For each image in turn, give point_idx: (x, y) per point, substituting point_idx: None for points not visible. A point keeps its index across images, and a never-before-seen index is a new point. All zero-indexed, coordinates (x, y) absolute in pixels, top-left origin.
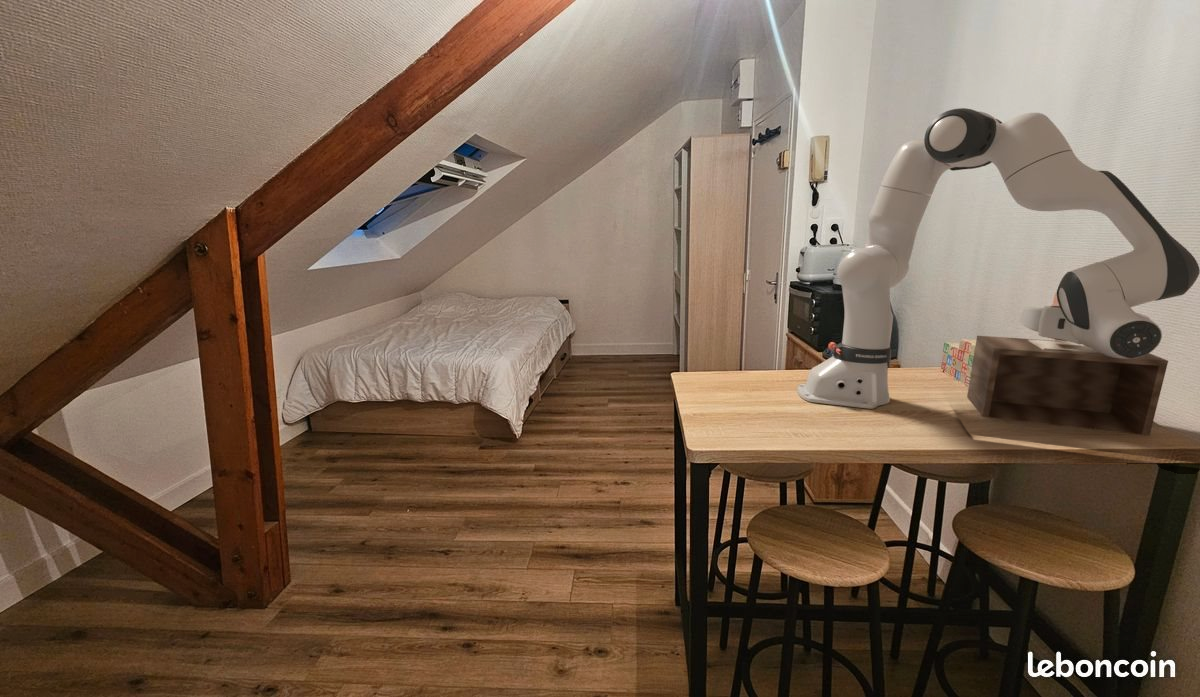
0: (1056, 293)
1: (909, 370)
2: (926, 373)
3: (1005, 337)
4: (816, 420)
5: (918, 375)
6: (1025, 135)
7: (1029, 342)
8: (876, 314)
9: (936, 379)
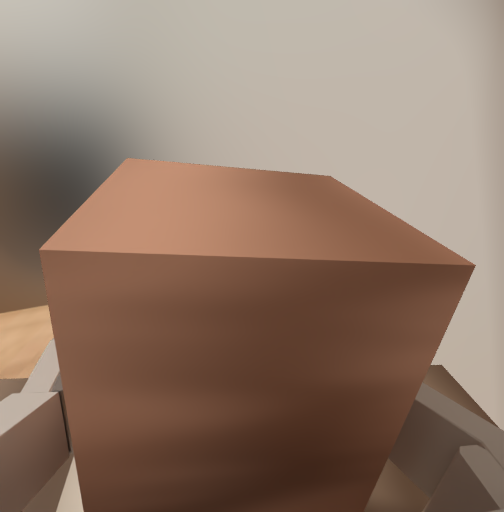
0: (128, 163)
1: (8, 319)
2: (37, 328)
3: (14, 380)
4: None
5: (2, 346)
6: None
7: (60, 473)
8: None
9: (31, 362)
